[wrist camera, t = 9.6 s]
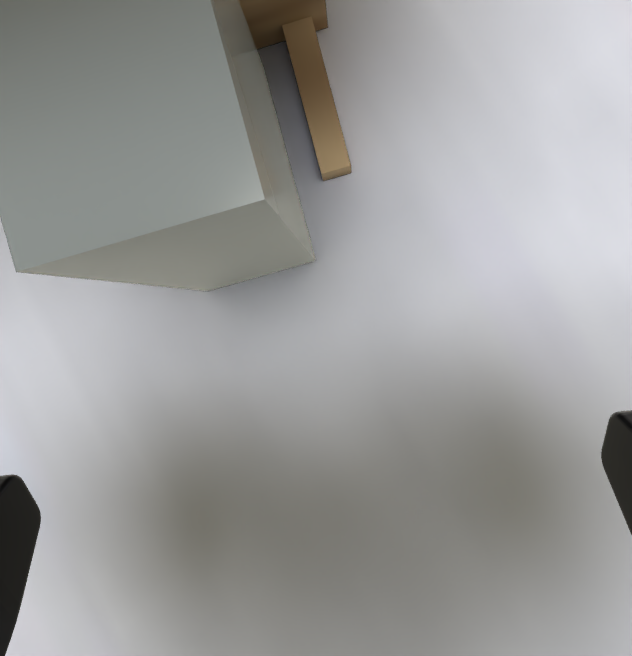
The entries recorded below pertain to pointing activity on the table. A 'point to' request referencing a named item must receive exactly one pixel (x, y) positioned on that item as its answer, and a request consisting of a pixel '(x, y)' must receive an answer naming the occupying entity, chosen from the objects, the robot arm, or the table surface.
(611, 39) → the table surface
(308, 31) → the wooden frame
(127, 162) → the slab
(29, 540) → the robot arm
